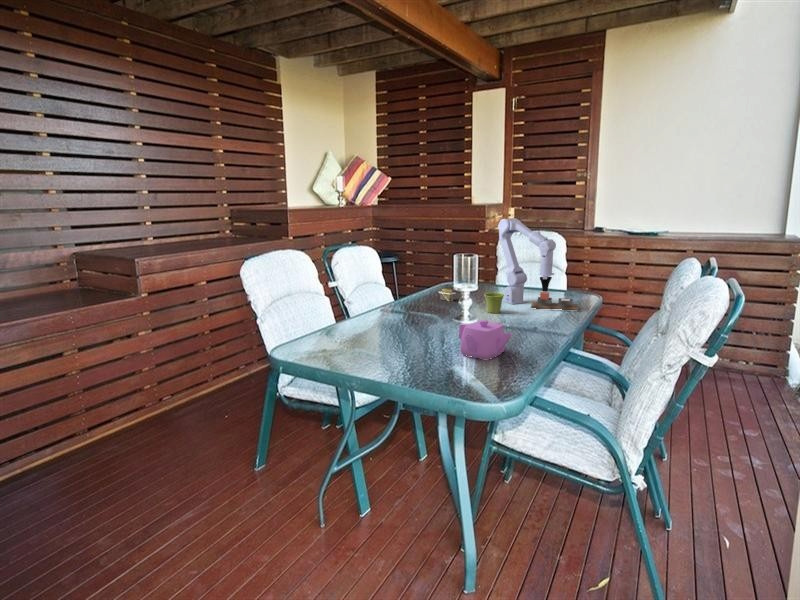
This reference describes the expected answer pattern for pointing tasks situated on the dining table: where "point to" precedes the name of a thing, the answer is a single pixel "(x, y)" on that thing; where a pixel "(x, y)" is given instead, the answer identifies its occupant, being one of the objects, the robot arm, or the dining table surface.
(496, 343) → the teakettle
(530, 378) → the dining table surface
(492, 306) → the plant pot
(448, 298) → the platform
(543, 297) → the red button
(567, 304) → the block
